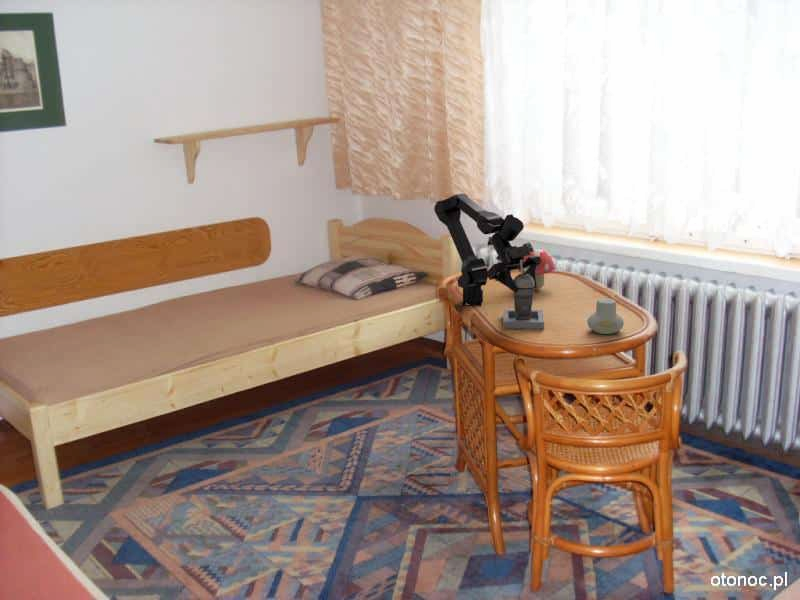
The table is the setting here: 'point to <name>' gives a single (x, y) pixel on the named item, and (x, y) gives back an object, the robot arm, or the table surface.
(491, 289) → the table surface
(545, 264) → the decorative mushroom
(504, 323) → the tray
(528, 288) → the beverage cup
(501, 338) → the table surface
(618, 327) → the air freshener
